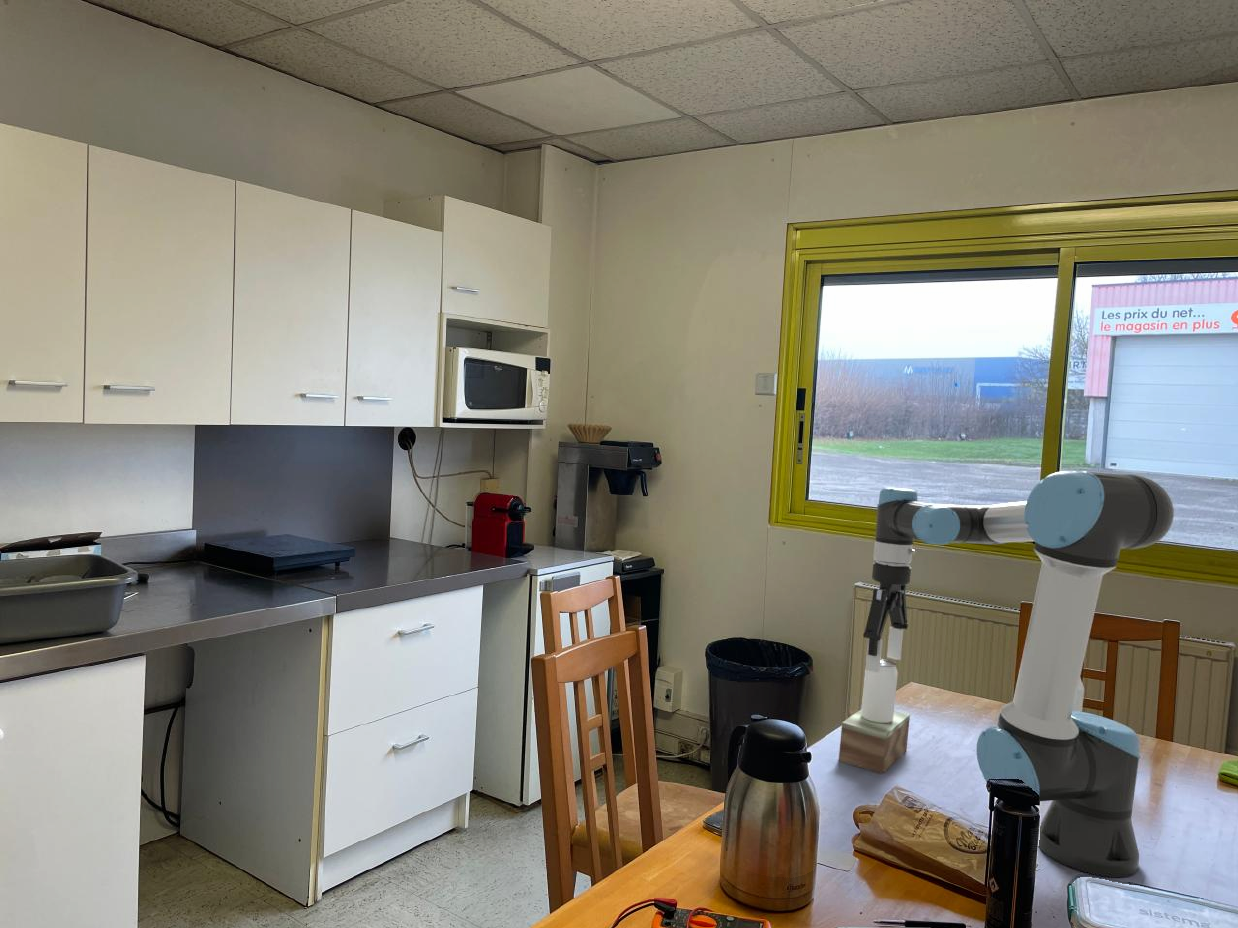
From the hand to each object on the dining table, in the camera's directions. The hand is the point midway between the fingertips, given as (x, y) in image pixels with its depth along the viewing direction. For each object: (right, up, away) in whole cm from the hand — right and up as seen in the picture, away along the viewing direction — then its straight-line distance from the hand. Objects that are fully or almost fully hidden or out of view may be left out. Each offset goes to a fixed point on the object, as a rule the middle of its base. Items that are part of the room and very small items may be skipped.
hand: (883, 664), depth 186 cm
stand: (-2, -19, +2) cm, 20 cm away
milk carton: (+42, -22, +14) cm, 50 cm away
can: (-1, -12, +1) cm, 12 cm away
